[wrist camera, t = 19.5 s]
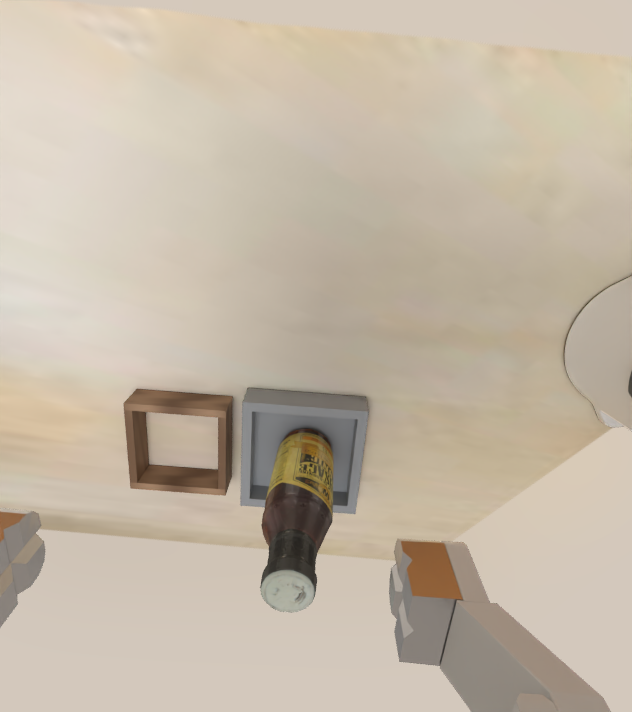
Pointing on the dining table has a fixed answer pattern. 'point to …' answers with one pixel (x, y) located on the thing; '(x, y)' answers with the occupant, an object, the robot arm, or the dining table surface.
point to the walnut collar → (168, 475)
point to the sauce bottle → (297, 518)
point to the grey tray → (294, 412)
